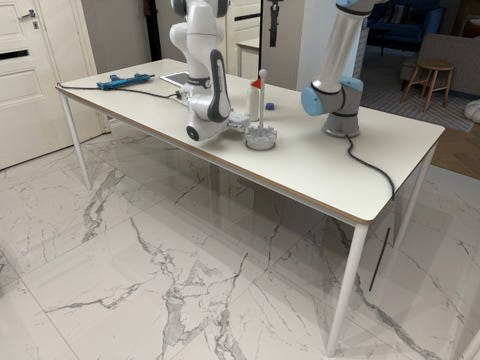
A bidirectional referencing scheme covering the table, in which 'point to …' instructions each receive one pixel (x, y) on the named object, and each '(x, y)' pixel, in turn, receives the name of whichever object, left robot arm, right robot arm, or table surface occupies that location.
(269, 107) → the cap
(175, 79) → the tablet
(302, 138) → the table surface
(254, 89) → the bottle
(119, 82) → the submachine gun
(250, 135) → the flag stand
